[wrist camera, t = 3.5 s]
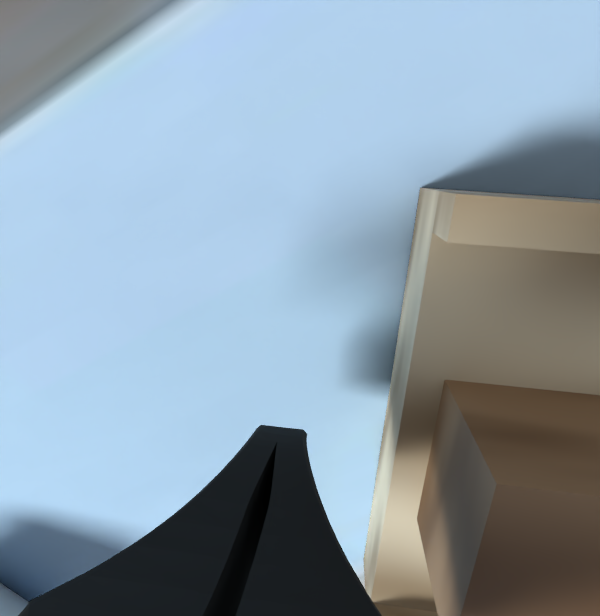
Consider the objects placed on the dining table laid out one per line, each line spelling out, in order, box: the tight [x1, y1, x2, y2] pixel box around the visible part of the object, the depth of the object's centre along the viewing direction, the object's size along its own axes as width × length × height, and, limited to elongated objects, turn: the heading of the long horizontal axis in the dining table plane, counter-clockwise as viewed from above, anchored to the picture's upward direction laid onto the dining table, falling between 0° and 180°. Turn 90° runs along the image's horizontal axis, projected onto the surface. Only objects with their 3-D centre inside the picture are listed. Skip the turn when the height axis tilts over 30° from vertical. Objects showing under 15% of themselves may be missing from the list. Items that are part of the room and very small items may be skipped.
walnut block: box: [417, 380, 600, 616], centre depth 10 cm, size 5×5×4 cm
